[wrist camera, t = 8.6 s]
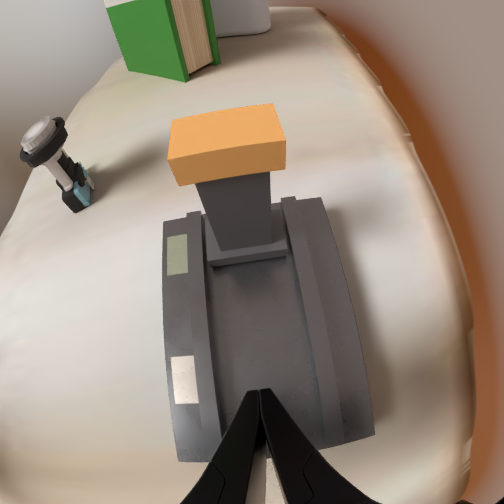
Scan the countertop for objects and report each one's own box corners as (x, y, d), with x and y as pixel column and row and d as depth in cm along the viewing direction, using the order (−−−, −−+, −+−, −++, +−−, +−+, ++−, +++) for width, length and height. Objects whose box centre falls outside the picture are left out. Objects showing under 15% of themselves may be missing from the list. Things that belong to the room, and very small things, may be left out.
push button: (67, 181, 27) (24, 123, 18) (102, 160, 27) (64, 96, 18) (65, 222, 24) (8, 162, 15) (104, 200, 25) (53, 129, 16)
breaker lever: (287, 255, 18) (295, 142, 9) (210, 267, 18) (159, 165, 9) (278, 217, 19) (278, 100, 11) (208, 228, 19) (166, 119, 11)
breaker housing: (365, 429, 14) (382, 438, 11) (187, 454, 14) (172, 466, 12) (317, 212, 22) (322, 187, 19) (171, 234, 22) (157, 212, 19)
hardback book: (220, 63, 36) (198, -67, 14) (185, 82, 34) (150, -59, 12) (158, 53, 42) (132, -43, 20) (128, 70, 39) (94, -30, 18)
